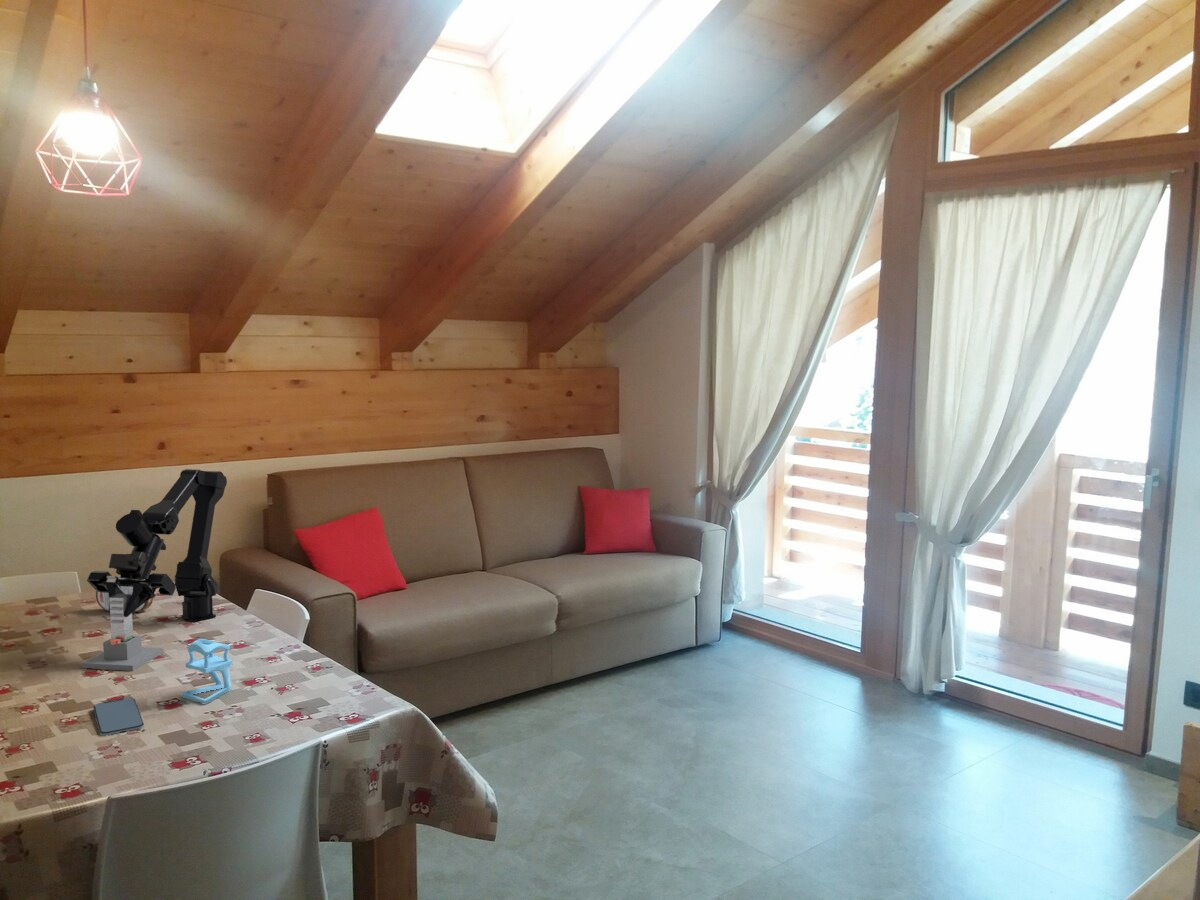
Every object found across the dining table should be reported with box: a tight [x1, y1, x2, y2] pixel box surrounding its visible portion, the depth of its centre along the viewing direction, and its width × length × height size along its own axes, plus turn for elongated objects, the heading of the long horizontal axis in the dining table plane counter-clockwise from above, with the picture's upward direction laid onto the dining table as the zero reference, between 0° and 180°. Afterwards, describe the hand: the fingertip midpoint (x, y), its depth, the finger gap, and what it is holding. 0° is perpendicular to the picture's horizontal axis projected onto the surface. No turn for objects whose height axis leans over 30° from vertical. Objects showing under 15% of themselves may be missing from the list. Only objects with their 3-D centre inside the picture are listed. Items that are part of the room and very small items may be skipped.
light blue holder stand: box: [181, 638, 233, 704], centre depth 194 cm, size 8×8×12 cm
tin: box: [95, 586, 154, 613], centre depth 251 cm, size 15×3×8 cm, turn 84°
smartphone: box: [93, 697, 145, 737], centre depth 182 cm, size 8×2×15 cm
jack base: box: [81, 635, 164, 672], centre depth 214 cm, size 12×12×6 cm
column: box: [109, 594, 135, 642], centre depth 213 cm, size 4×3×10 cm
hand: (117, 616), depth 212 cm, fingers closed on column, 3 cm apart
